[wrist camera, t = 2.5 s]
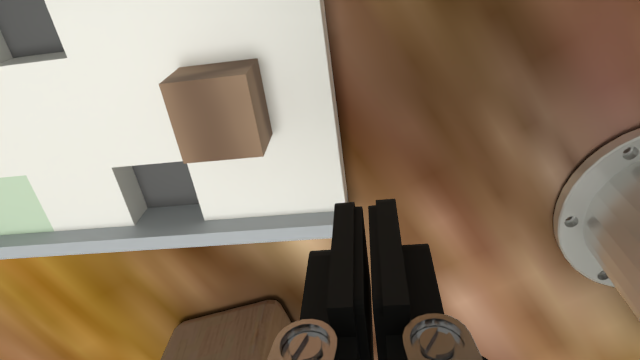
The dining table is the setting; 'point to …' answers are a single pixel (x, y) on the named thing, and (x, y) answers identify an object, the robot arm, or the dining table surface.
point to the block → (229, 334)
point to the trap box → (158, 127)
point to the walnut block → (218, 111)
